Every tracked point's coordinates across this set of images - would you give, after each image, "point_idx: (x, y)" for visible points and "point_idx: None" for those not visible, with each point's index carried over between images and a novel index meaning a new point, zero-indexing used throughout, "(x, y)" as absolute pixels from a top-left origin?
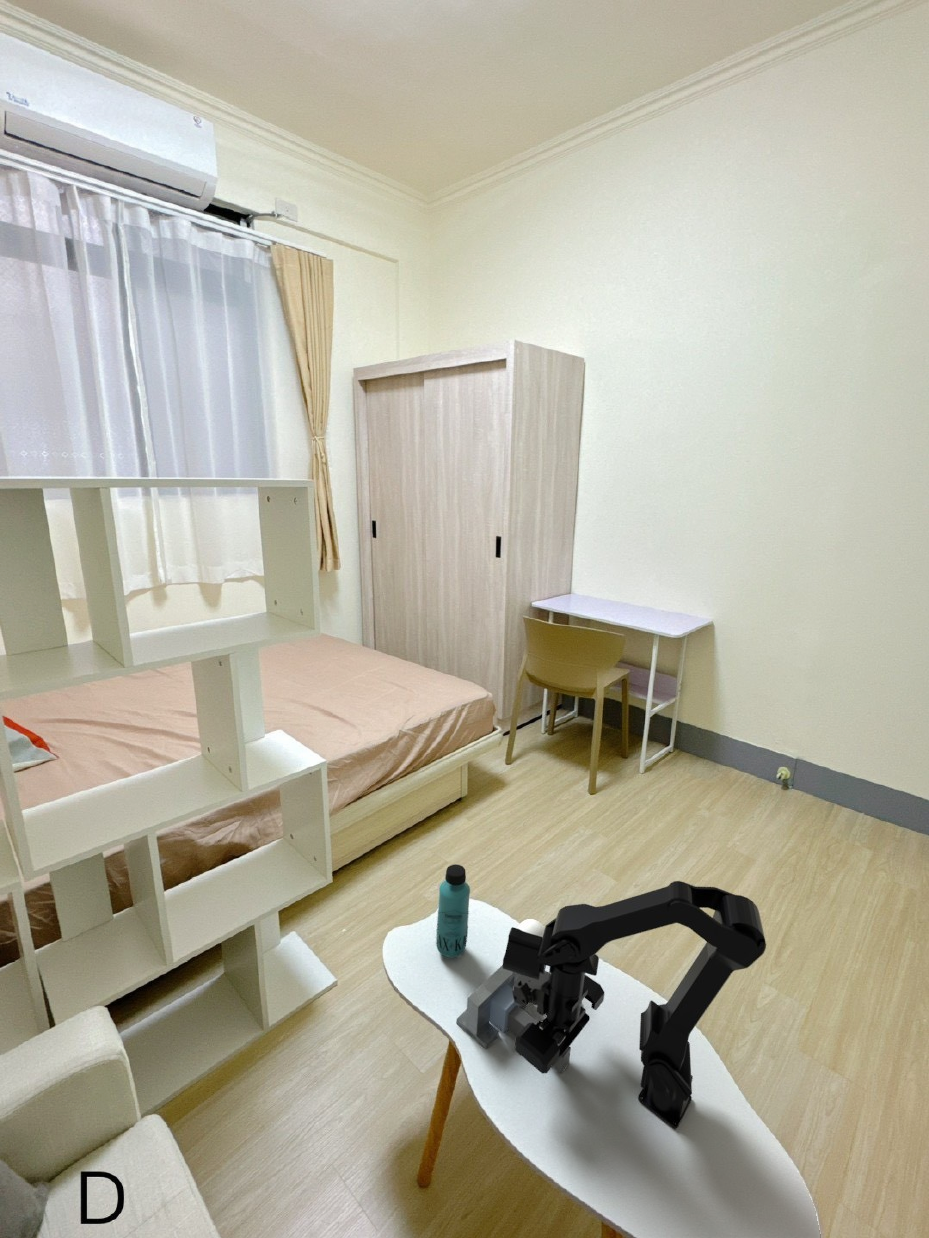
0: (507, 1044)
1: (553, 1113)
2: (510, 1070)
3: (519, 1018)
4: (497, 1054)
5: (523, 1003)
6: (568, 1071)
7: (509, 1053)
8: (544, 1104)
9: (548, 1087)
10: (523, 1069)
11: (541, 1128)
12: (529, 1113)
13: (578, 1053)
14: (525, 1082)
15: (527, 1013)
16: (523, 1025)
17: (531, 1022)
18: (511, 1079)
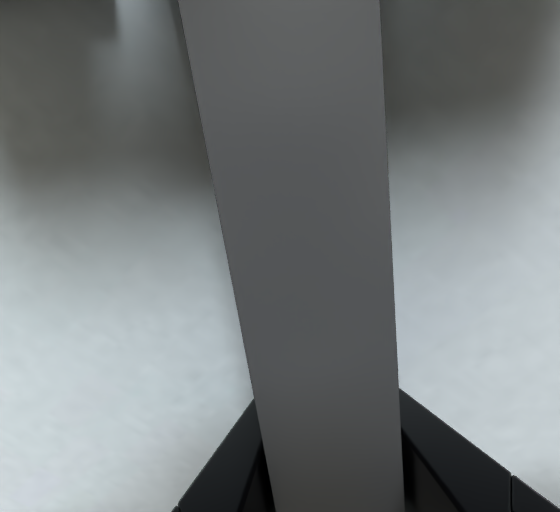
0: (130, 91)
1: (114, 503)
2: (41, 243)
3: (226, 9)
4: (19, 102)
5: None
6: None
7: (102, 154)
8: (102, 461)
9: (175, 427)
10: (119, 287)
11: (25, 508)
12: (10, 446)
13: (456, 413)
14: (82, 343)
15: (380, 25)
16: (205, 128)
17: (317, 165)
18: (17, 285)
